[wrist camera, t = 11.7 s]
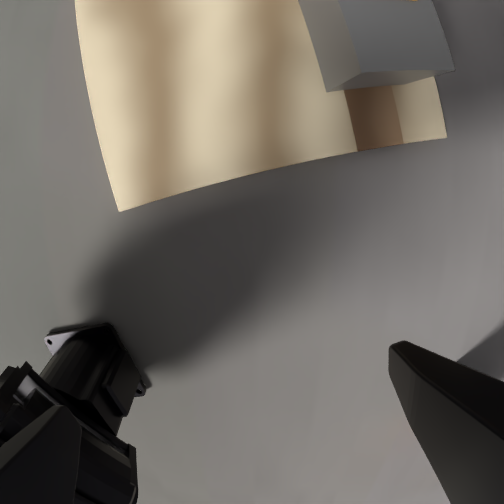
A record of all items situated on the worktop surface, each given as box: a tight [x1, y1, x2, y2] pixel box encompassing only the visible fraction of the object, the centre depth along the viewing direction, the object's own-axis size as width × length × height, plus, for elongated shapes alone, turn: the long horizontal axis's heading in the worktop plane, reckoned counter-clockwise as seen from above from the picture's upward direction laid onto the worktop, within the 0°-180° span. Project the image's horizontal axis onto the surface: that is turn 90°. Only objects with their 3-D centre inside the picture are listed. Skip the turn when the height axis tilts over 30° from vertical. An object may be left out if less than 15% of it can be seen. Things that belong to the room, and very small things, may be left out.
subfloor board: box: [75, 0, 447, 212], centre depth 14 cm, size 20×16×1 cm
